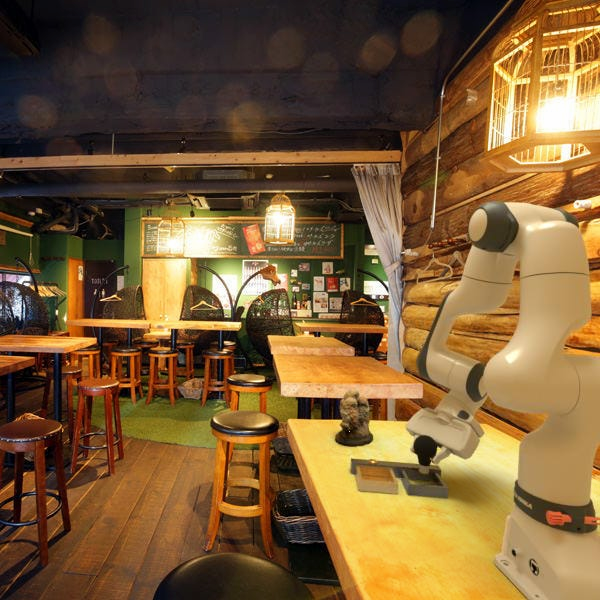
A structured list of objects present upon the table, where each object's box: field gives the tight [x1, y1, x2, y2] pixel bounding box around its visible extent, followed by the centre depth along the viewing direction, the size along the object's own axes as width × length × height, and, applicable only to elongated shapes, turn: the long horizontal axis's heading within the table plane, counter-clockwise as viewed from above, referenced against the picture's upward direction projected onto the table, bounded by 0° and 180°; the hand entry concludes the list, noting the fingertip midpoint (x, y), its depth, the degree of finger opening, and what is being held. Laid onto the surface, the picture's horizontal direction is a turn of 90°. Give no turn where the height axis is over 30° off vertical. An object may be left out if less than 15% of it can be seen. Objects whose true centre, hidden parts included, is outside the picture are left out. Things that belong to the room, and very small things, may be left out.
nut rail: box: [349, 457, 449, 499], centre depth 102 cm, size 13×24×3 cm, turn 87°
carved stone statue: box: [334, 389, 374, 448], centre depth 134 cm, size 18×12×17 cm, turn 149°
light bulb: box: [412, 435, 438, 475], centre depth 100 cm, size 6×6×10 cm
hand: (422, 457), depth 100 cm, fingers closed on light bulb, 6 cm apart
